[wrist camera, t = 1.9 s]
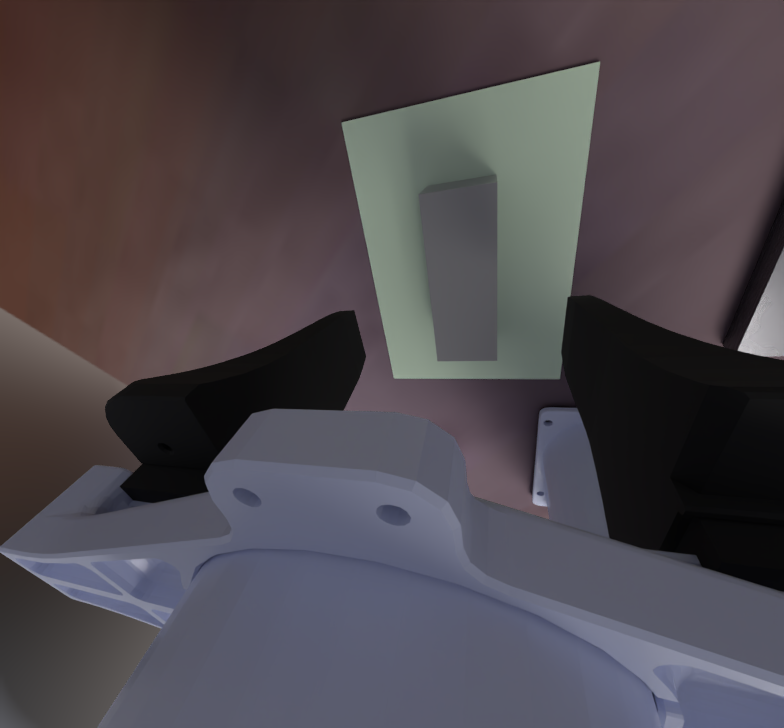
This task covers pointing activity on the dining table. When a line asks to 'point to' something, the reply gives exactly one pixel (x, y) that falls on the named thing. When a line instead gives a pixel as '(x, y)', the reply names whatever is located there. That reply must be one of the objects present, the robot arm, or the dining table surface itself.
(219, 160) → the dining table surface
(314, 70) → the dining table surface
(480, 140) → the board
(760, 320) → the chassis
